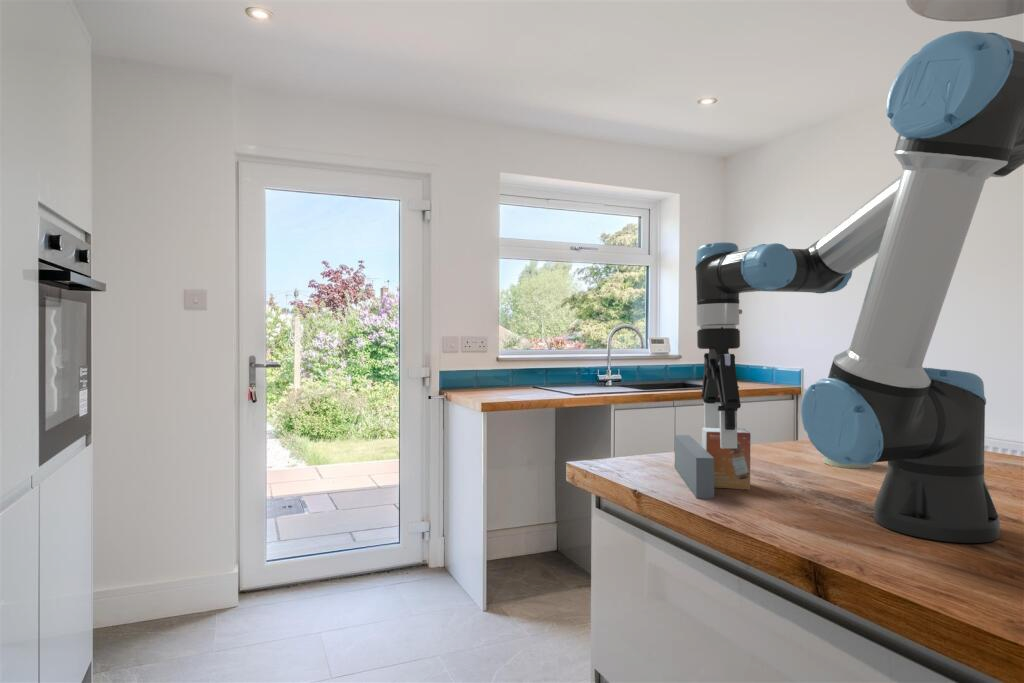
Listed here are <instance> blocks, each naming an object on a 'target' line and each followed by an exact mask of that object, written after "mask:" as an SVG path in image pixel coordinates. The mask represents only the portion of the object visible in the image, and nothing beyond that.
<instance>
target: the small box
mask: <svg viewBox="0 0 1024 683" xmlns="http://www.w3.org/2000/svg"><path fill="white" fill-rule="evenodd" d="M751 437H752V436H751V432H750V431H749V430H747V429H746V428H743V427H740V428H738V427H737V448H720V427H719V428H704V427H701V446H702V447H703V448H704V449H705V450H706V451H707V452H708V453H709V454H710V455H711V456H712V457H714V488H718V489H719V488H720V489H733V490H734V489H735V490H744V489H748V490H747V491H750V489H751Z"/></svg>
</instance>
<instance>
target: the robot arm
mask: <svg viewBox="0 0 1024 683" xmlns="http://www.w3.org/2000/svg"><path fill="white" fill-rule="evenodd" d="M886 116H887V117H888V119H889V120H890V121H889V124H890V126H891V128H892V129H893V130H895V132H896V133H897V134H898V136H897V139H896V143H895V147H894V151H893V155H894V156H895V158H896V159H897V160H898V163H899V164H900V166H901V168H902V171H901V175H900V176H898V177H897V178H896V179H894V180H893V181H892V182H890V184H888V185H887V186H886V187H884V188H883V189H882V190H881V191H879V192H878V193H876V194H875V195H874V196H873V197H872V198H870V199H869V200H868V201H866V203H864V204H863V205H862V206H860V207H859V208H858V209H857V210H855V211H853V213H852V214H850V215H849V216H848V217H846V218H845V219H844V220H843V221H841V222H840V223H838V225H836V226H835V227H834V228H832V229H831V230H830V231H828V232H827V233H826V234H825V235H823V236H822V237H821V238H819V239H818V240H817V241H816V242H814V243H813V244H811V245H810V246H808V247H807V248H805V249H803V248H788V247H787V246H786V245H784V244H782V243H778V242H777V243H769V244H767V243H766V244H765V243H763V244H761V243H760V244H758V245H756V246H752V247H748V248H745V249H744V248H743V249H740V250H739V246H738V245H737V244H736V243H734V242H727V241H726V242H725V241H723V242H713V243H705V244H703V245H700V246H698V248H697V250H696V263H695V274H696V275H695V284H696V326H697V327H699V329H698V330H697V332H696V333H697V334H696V338H697V339H696V342H697V348H698V349H700V350H708V352H704V355H703V358H704V359H703V361H704V363H703V364H704V365H703V377H702V386H701V387H702V388H701V399H702V401H703V414H704V415H703V417H704V420H703V422H704V423H703V426H704V428H720V448H737V428H738V409H741V404H742V403H741V400H740V392H739V384H738V378H737V377H738V376H737V371H736V356H735V354H734V353H730V351H729V350H730V349H731V350H733V349H734V350H737V349H739V348H740V347H741V330H740V329H739V328H737V326H739V325H740V315H742V314H743V310H742V309H741V308H740V294H741V293H751V292H752V293H753V292H771V293H772V292H775V293H777V292H783V293H785V292H786V293H813V294H826V293H835V292H838V291H841V290H843V289H844V288H845V287H846V286H847V285H848V283H849V281H850V279H851V278H852V277H853V270H855V269H856V268H858V267H859V266H860V265H863V264H864V263H865V262H866V261H868V260H870V259H871V258H873V257H874V256H876V255H877V256H876V259H875V262H874V265H873V268H872V272H871V275H870V276H871V277H870V279H869V282H868V285H867V289H866V292H865V295H864V299H863V303H862V306H861V309H860V312H859V316H858V319H857V323H856V325H855V329H854V333H853V336H852V339H851V342H850V345H849V348H847V349H846V350H844V351H842V352H840V353H838V354H835V355H834V356H833V360H832V363H831V366H830V370H829V372H828V376H827V378H821V379H819V380H818V381H817V380H816V381H815V383H814V384H811V385H810V386H809V387H808V388H807V389H806V390H805V392H804V394H803V397H802V400H801V405H800V406H801V407H800V417H801V421H802V422H801V423H802V425H803V426H802V427H803V429H804V431H805V432H806V433H807V437H808V439H809V441H810V442H811V444H812V445H813V446H814V448H815V449H816V450H817V451H818V452H819V453H820V454H821V455H823V457H824V456H825V457H827V458H828V459H830V460H832V461H835V462H838V463H841V464H859V465H869V464H871V465H872V464H875V463H883V462H887V470H886V473H885V476H884V479H883V481H882V484H881V486H880V488H879V491H878V494H877V496H876V499H875V502H874V505H873V506H874V508H873V510H874V511H873V512H874V513H873V517H874V518H873V519H874V521H875V522H876V523H877V524H879V525H881V526H882V527H884V528H886V529H888V530H892V531H894V532H897V533H900V534H905V535H909V536H913V537H918V538H922V539H927V540H933V541H939V542H947V543H948V542H949V543H960V544H961V543H962V544H980V543H981V544H983V543H989V542H994V541H996V540H998V539H1000V537H1001V525H1000V524H1001V521H1000V517H999V515H998V512H997V509H996V507H995V504H994V502H993V499H992V496H991V494H990V491H989V489H988V486H987V483H986V480H985V436H986V435H985V432H986V430H985V429H986V428H985V423H986V419H985V418H986V417H985V416H986V404H987V399H986V396H985V384H984V381H983V378H981V377H980V376H979V375H977V374H975V373H972V372H969V371H968V372H967V371H962V370H954V369H953V370H952V369H942V368H935V367H934V368H932V367H923V364H924V361H925V359H926V355H927V352H928V349H929V347H930V344H931V340H932V337H933V335H934V332H935V328H936V325H937V323H938V321H939V317H940V314H941V312H942V308H943V305H944V303H945V300H946V297H947V293H948V291H949V288H950V286H951V282H952V278H953V275H954V273H955V271H956V267H957V265H958V262H959V258H960V256H961V254H962V251H963V246H964V244H965V242H966V238H967V236H968V233H969V229H970V226H971V224H972V220H973V217H974V216H975V215H974V214H975V211H976V208H977V206H978V203H979V199H980V198H981V194H982V192H983V189H984V186H985V183H986V180H988V179H989V178H1004V177H1007V176H1008V175H1009V174H1012V172H1014V171H1016V170H1018V169H1019V168H1020V167H1022V166H1023V165H1024V41H1021V40H1017V39H1015V38H1010V37H1008V36H1007V37H1006V36H1004V35H1002V34H999V33H997V32H982V31H980V32H979V31H973V30H971V31H969V30H959V31H955V32H950V33H947V34H944V35H940V36H939V37H937V38H935V39H933V40H931V41H930V42H928V43H926V44H925V45H924V46H922V48H920V50H919V51H918V52H917V53H915V54H913V55H911V56H910V57H909V59H908V60H906V62H905V63H904V64H903V65H902V66H901V68H900V70H899V71H898V72H897V74H896V75H895V77H894V79H893V81H892V83H891V85H890V87H889V91H888V94H887V98H886Z"/></svg>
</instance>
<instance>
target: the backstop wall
mask: <svg viewBox="0 0 1024 683" xmlns="http://www.w3.org/2000/svg"><path fill="white" fill-rule="evenodd" d="M674 470H676V472H677V474H678V475H679V476H680V477H681V479H682V481H683V482H684V483H685V484H686V486H687V487H688V489H689V491H690V492H691V493H692V494H693V495H694V497H695V498H696V499H715V487H714V457H712V456H711V455H710V454H709V453H708V452H707V451H706V450H705V449H704V448H703V447H702V445H701V444H700V443H698V441H696V439H694V437H692V436H690V435H689V434H674Z"/></svg>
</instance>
